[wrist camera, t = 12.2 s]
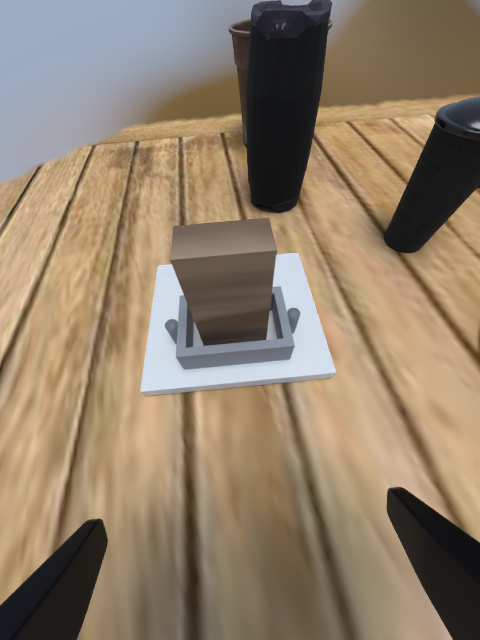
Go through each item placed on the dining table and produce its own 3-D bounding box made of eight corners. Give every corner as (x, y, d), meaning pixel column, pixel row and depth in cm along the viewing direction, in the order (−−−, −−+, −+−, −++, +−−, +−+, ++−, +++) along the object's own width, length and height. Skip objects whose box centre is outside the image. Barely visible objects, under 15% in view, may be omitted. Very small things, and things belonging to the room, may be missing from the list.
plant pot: (244, 125, 56) (241, 14, 42) (313, 128, 53) (334, 11, 40) (226, 157, 48) (216, 33, 34) (307, 163, 45) (331, 31, 31)
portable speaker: (305, 188, 40) (343, -5, 24) (292, 221, 36) (329, 10, 19) (257, 181, 42) (262, -3, 26) (240, 211, 38) (232, 11, 21)
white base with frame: (331, 377, 23) (347, 360, 19) (146, 396, 23) (125, 381, 19) (296, 261, 31) (302, 232, 28) (161, 273, 31) (149, 246, 27)
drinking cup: (361, 238, 33) (477, 0, 16) (394, 217, 35) (524, -12, 18) (412, 269, 30) (625, 8, 13) (444, 243, 32) (661, -9, 15)
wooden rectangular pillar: (265, 344, 23) (276, 250, 13) (205, 350, 23) (170, 259, 13) (260, 311, 25) (266, 208, 15) (205, 316, 25) (174, 216, 15)
